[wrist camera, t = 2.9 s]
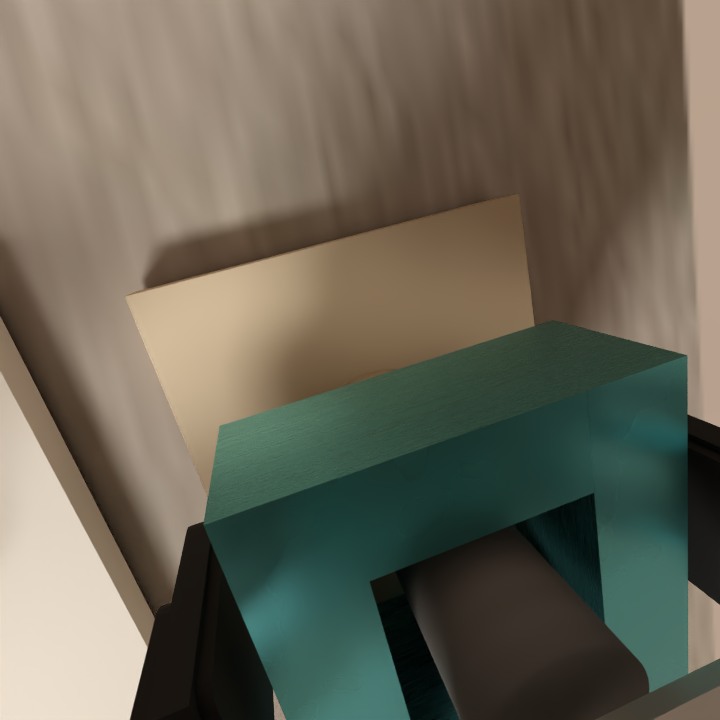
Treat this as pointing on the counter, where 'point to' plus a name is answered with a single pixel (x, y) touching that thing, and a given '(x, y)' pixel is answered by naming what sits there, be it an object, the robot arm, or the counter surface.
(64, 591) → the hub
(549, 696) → the stand
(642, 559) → the teal square frame
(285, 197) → the counter surface
